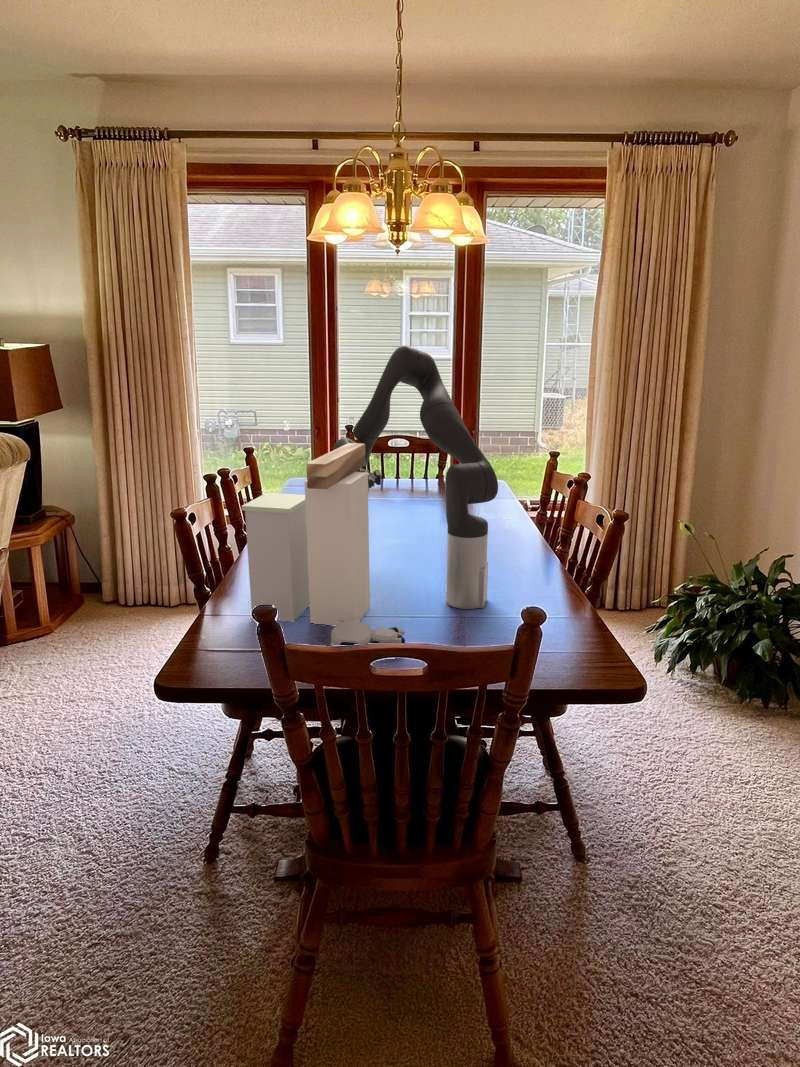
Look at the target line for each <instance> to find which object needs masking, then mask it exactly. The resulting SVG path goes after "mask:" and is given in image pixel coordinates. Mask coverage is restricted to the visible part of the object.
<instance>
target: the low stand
mask: <svg viewBox="0 0 800 1067" xmlns="http://www.w3.org/2000/svg"><path fill="white" fill-rule="evenodd" d="M241 511H244V514H245V515H244V516H245V529H246V530H245V532H246V533H245V534H246V545H247V546H246V547H247V548H246V549H247V559H248V562H247V563H248V577H249V587H250V588H249V590H250V608H251V611H252V610H253V608H254V607H255V606H258V605H261V604H271V605H274V606H275V607H276V608H277V610H278V618H277V620H276V621H278V622H279V619H280V622H282V621H281V620H284V621H283V622H287V621H294V622H296V620H298V618H300V617H301V616H302V614H303V613H304V612H305V611H306V610H307V609H308V608H309V607H310V606H309V605H310V600H309V576H308V551H307V527H306V503H305V494H298V493H297V494H295V493H281V492H279V493H278V492H266V493H264V494H262V495H259V496H257V497H256V498H254V499H252V500H250V501H248V502H246V503H244V504H243V505H241ZM308 606H309V607H308ZM307 607H308V608H307ZM306 608H307V609H306ZM305 609H306V610H305ZM304 610H305V611H304ZM303 611H304V612H303ZM302 612H303V613H302ZM301 613H302V614H301ZM297 617H298V618H297ZM295 619H296V620H295Z"/></svg>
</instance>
